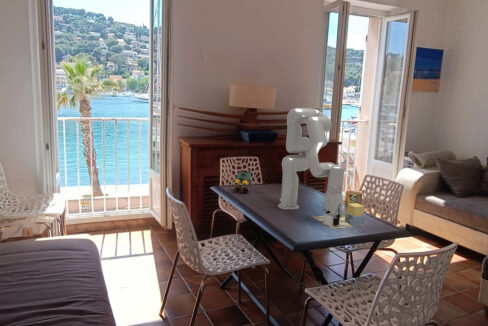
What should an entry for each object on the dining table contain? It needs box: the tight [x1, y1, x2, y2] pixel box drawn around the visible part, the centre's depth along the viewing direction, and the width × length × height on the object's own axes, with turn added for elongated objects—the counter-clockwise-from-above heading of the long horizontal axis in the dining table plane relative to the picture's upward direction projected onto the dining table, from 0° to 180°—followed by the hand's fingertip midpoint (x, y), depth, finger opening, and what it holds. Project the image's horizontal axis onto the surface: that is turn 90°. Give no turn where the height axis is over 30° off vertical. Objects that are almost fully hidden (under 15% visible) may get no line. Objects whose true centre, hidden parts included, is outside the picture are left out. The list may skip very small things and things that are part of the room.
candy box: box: [343, 189, 363, 216], centre depth 217 cm, size 9×4×15 cm, turn 75°
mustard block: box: [347, 203, 365, 216], centre depth 202 cm, size 6×6×5 cm
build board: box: [312, 213, 366, 229], centre depth 206 cm, size 19×20×6 cm
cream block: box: [322, 212, 341, 227], centre depth 200 cm, size 6×6×5 cm
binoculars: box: [233, 169, 255, 194], centre depth 263 cm, size 14×14×15 cm
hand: (331, 222), depth 200 cm, fingers open, 6 cm apart
